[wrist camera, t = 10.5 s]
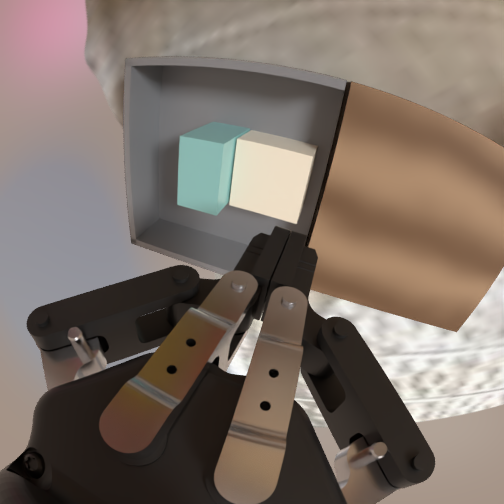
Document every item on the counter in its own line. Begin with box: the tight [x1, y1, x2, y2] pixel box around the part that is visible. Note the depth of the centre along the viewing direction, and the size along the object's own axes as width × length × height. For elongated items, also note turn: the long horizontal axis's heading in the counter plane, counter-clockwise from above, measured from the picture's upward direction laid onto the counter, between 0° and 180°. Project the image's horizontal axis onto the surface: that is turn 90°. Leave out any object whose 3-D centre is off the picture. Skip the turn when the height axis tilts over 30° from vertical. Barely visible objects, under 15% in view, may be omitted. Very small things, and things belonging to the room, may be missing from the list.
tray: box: [123, 56, 347, 275], centre depth 21 cm, size 16×15×4 cm
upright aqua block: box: [177, 122, 250, 216], centre depth 20 cm, size 5×5×3 cm
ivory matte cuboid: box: [229, 130, 318, 224], centre depth 20 cm, size 5×5×3 cm
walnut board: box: [308, 82, 504, 332], centre depth 19 cm, size 16×16×3 cm
